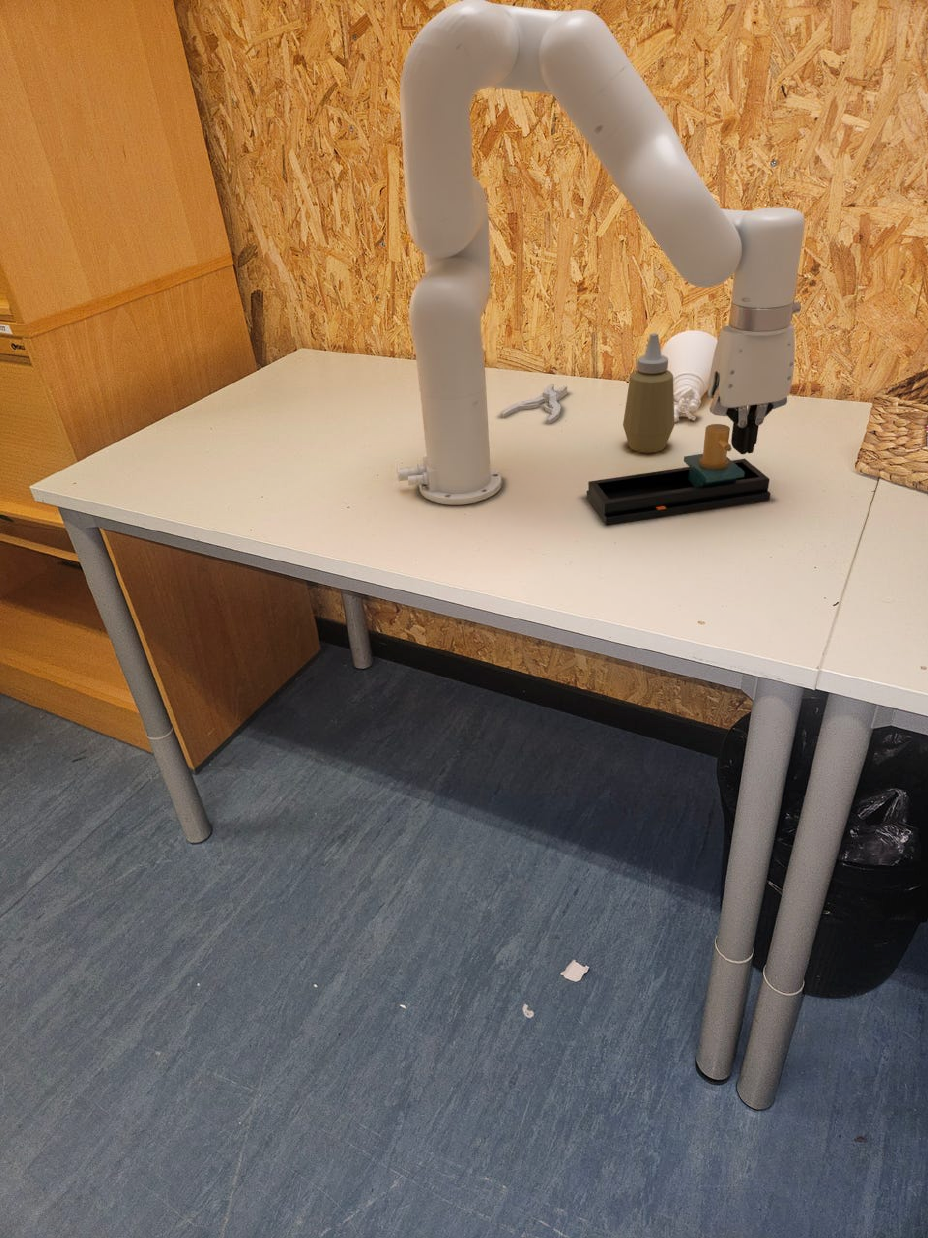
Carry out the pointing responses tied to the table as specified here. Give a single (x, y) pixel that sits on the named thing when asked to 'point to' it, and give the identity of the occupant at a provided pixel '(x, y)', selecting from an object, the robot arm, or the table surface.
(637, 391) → the squeeze bottle
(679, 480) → the black rectangular tray
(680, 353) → the rocket engine
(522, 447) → the table surface
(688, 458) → the nozzle
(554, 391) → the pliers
